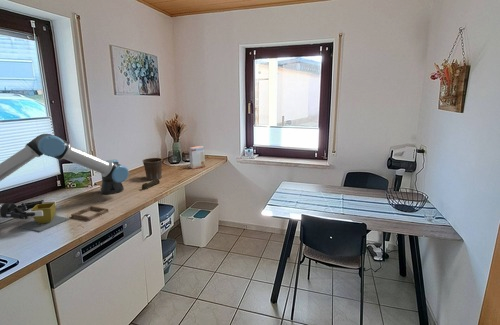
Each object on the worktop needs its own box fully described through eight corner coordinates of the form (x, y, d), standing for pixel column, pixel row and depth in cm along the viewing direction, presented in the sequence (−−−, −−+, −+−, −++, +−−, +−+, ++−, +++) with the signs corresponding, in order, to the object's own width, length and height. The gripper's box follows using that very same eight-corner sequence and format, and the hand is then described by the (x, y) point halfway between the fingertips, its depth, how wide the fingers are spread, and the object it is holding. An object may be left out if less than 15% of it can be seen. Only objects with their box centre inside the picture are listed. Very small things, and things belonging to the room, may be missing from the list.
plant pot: (152, 182, 222) (151, 162, 218) (139, 179, 230) (138, 160, 227) (167, 177, 236) (166, 159, 232) (155, 174, 244) (154, 157, 240)
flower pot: (39, 219, 151) (36, 204, 149) (58, 217, 154) (55, 202, 152) (33, 226, 143) (30, 210, 141) (53, 223, 146) (50, 208, 144)
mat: (49, 215, 158) (49, 214, 158) (69, 219, 153) (69, 218, 153) (18, 227, 143) (18, 226, 143) (40, 232, 138) (39, 231, 138)
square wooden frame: (91, 208, 168) (91, 205, 167) (108, 211, 163) (108, 208, 163) (71, 217, 155) (70, 214, 155) (89, 220, 151) (88, 217, 151)
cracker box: (202, 166, 277) (201, 145, 272) (205, 167, 272) (204, 146, 268) (189, 168, 268) (188, 147, 263) (192, 169, 264) (191, 148, 259)
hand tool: (155, 183, 220) (155, 177, 219) (160, 183, 219) (159, 178, 218) (139, 190, 203) (138, 184, 202) (143, 191, 201) (142, 185, 200)
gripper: (20, 208, 155) (61, 205, 159) (-12, 228, 132) (37, 224, 135) (17, 195, 154) (59, 193, 158) (-16, 213, 130) (35, 210, 134)
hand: (49, 208), depth 147 cm, fingers open, 13 cm apart
